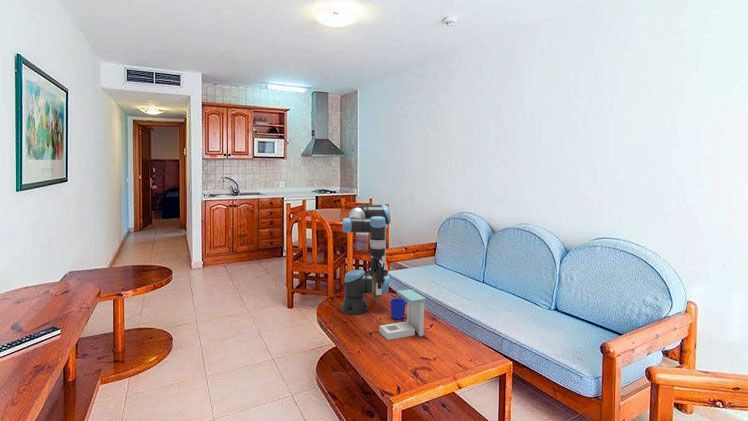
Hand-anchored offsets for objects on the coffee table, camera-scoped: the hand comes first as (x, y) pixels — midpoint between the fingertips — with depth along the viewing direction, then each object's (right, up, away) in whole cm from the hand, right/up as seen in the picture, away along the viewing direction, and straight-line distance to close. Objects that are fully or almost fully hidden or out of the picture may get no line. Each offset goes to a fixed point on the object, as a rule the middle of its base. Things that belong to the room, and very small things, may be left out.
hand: (377, 293), depth 201 cm
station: (+12, -21, +3) cm, 24 cm away
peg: (0, -3, 0) cm, 3 cm away
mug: (+14, -19, +23) cm, 33 cm away
